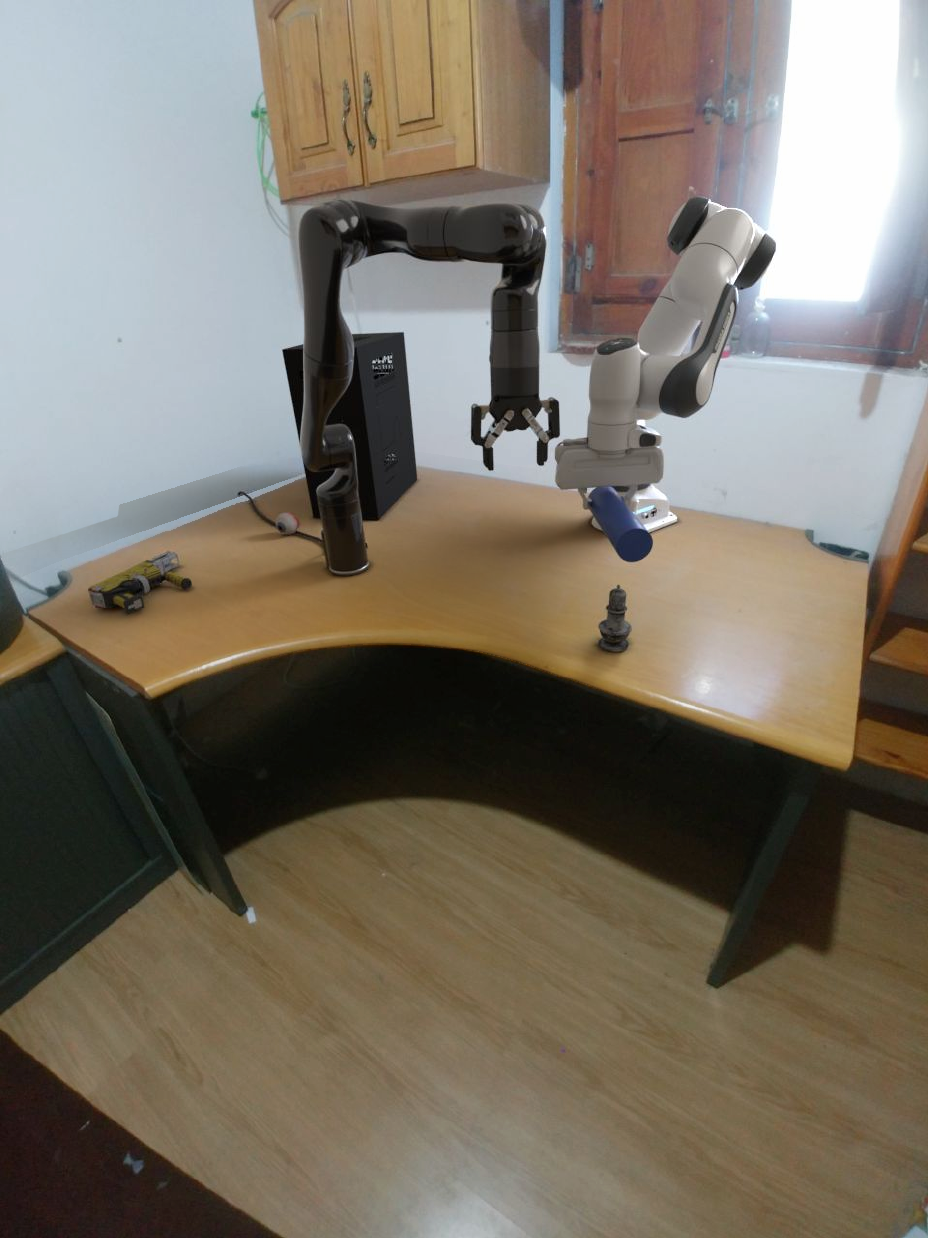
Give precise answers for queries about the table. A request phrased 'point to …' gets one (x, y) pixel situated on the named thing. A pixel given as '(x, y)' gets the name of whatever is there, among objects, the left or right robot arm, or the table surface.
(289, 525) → the eyeball
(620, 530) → the rod
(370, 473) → the cardboard box
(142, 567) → the toy gun
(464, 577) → the table surface
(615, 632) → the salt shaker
